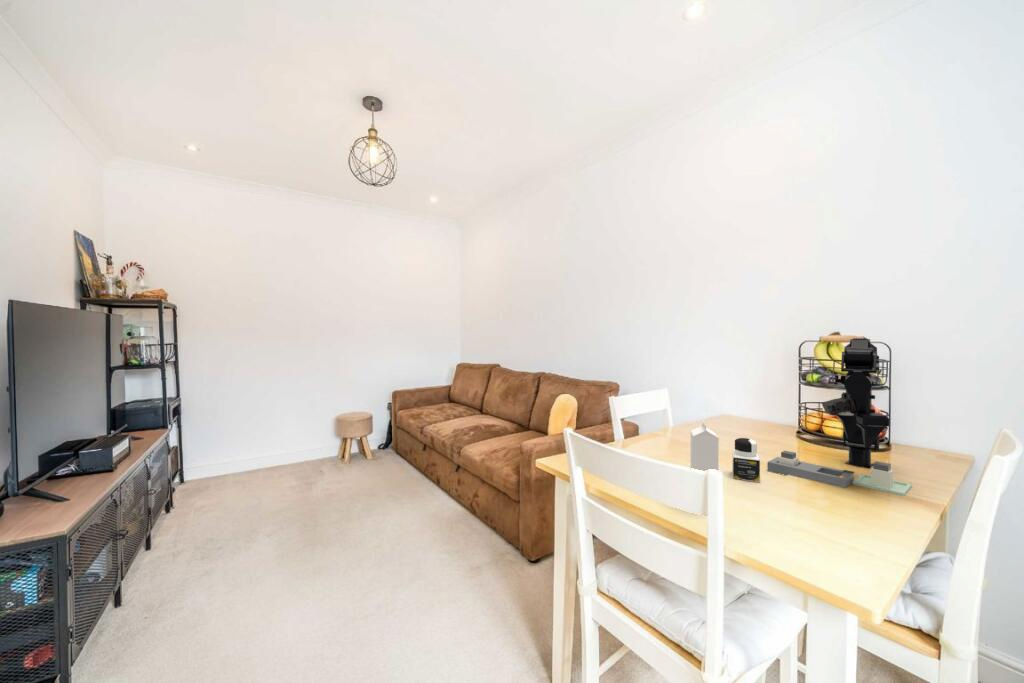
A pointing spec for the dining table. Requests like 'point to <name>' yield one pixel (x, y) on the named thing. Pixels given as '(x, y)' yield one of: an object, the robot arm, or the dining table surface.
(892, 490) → the parts tray
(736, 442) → the medicine bottle
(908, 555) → the dining table surface
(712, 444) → the milk
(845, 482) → the grey socket board
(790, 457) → the twin plug
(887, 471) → the plug
